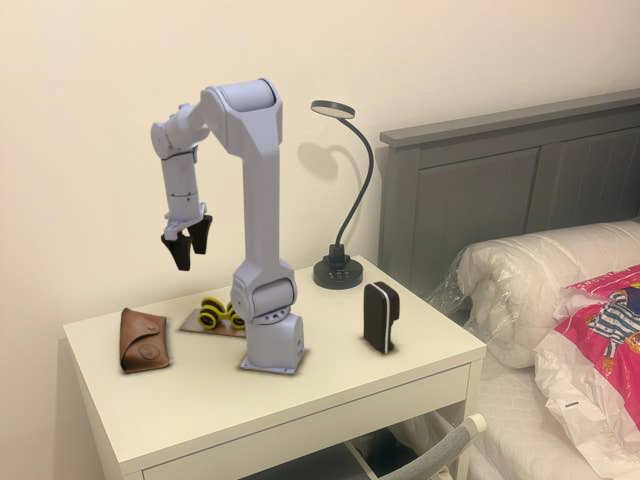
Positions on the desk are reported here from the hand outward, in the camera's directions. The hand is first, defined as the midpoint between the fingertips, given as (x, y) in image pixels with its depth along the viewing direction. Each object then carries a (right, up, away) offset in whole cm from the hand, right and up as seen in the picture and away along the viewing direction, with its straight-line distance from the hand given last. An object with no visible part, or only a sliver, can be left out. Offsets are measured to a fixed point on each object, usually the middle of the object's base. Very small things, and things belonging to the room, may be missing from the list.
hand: (192, 261), depth 125 cm
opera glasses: (+7, -12, -1) cm, 14 cm away
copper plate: (+6, -12, -1) cm, 13 cm away
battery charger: (+35, -16, -8) cm, 40 cm away
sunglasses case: (-7, -16, -6) cm, 19 cm away
